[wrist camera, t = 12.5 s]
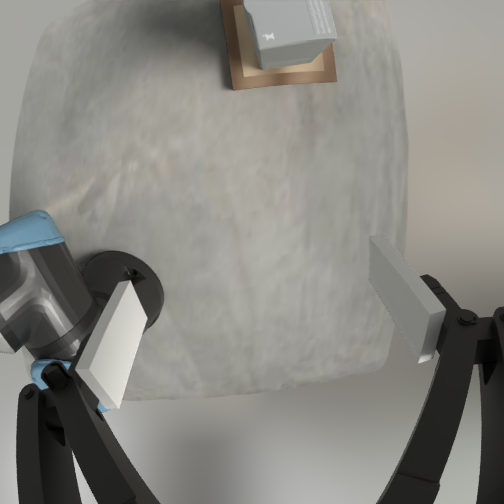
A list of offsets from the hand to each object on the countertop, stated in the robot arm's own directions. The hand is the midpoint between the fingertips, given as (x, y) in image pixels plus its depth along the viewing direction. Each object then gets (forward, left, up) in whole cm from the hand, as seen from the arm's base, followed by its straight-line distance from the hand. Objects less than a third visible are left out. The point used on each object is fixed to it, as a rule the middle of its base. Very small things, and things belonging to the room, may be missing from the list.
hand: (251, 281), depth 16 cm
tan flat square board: (+6, +17, -27) cm, 33 cm away
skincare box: (+5, +17, -26) cm, 31 cm away
